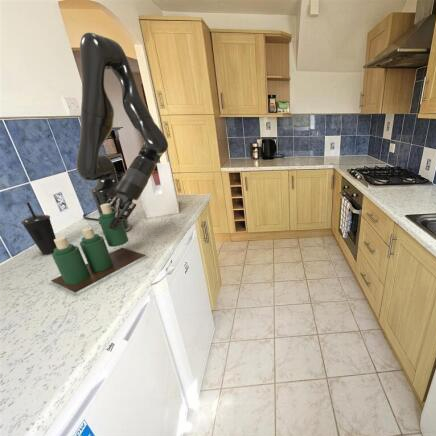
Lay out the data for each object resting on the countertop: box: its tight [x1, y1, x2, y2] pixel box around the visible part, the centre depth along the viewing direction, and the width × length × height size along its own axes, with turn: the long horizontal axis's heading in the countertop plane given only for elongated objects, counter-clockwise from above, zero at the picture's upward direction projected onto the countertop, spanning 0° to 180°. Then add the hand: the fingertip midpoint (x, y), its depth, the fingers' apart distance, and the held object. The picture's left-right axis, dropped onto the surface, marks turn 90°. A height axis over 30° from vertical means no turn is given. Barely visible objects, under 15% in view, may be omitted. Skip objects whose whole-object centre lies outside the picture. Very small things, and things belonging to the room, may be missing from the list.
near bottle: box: [51, 236, 90, 285], centre depth 73 cm, size 6×6×14 cm
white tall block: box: [139, 161, 180, 219], centre depth 128 cm, size 19×15×25 cm
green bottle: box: [97, 203, 129, 248], centre depth 82 cm, size 6×6×14 cm
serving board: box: [50, 247, 146, 294], centre depth 81 cm, size 14×22×1 cm, turn 155°
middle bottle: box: [79, 226, 113, 272], centre depth 78 cm, size 6×6×14 cm
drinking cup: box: [20, 202, 57, 255], centre depth 90 cm, size 8×8×20 cm
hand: (106, 226), depth 81 cm, fingers closed on green bottle, 6 cm apart
